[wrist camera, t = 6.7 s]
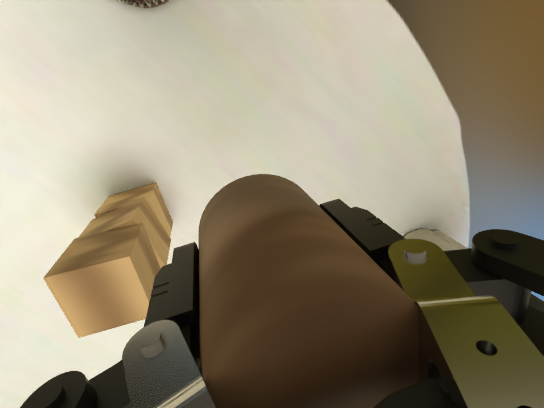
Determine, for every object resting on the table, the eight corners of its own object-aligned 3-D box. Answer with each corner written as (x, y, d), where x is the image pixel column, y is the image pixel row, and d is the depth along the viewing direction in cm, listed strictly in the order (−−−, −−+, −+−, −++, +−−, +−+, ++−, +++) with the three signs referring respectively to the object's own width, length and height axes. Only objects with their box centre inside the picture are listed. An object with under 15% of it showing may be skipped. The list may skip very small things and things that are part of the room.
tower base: (156, 182, 38) (149, 198, 33) (172, 222, 41) (168, 243, 35) (109, 195, 38) (94, 214, 32) (129, 235, 40) (118, 259, 35)
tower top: (142, 222, 28) (129, 256, 22) (162, 274, 30) (154, 316, 25) (74, 238, 27) (43, 278, 21) (100, 290, 29) (78, 338, 24)
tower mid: (143, 196, 33) (133, 219, 27) (170, 239, 35) (166, 267, 30) (92, 219, 32) (71, 246, 27) (123, 260, 35) (110, 293, 29)
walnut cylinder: (306, 159, 11) (447, 257, 5) (323, 261, 13) (440, 424, 7) (181, 194, 11) (157, 357, 4) (218, 296, 13) (240, 510, 6)
